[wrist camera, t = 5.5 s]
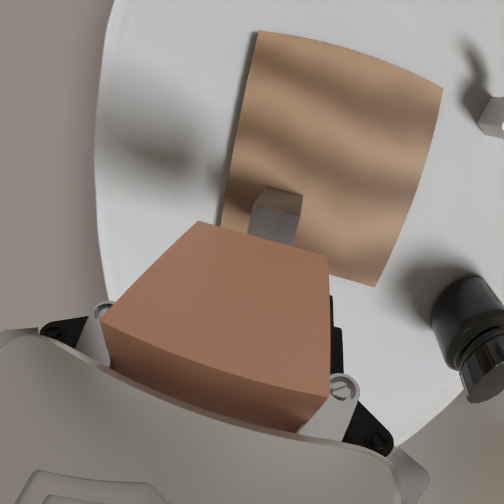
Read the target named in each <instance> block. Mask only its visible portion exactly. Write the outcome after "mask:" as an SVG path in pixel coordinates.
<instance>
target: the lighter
mask: <svg viewBox="0 0 504 504" xmlns="http://www.w3.org/2000/svg"><path fill="white" fill-rule="evenodd" d="M477 125H478V126H479V127H480V129H481V130H482V131H483V133H484V134H485V135H488V136H493V137H498V138H502V139H504V97H491V98H490V100H489V102H488V104H487V106H486V107H485V109H484V111H483V113H482V114H481V116H480V118H479V119H478V121H477Z"/></svg>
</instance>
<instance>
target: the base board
mask: <svg viewBox="0 0 504 504" xmlns="http://www.w3.org/2000/svg"><path fill="white" fill-rule="evenodd" d="M442 92H443V88H441V87H439V86H438V85H436V84H434V83H432V82H430V81H428V80H426V79H424V78H422V77H420V76H418V75H416V74H413V73H411V72H409V71H407V70H405V69H402V68H400V67H398V66H395V65H393V64H390V63H388V62H385V61H383V60H380V59H377V58H374V57H372V56H369V55H366V54H363V53H360V52H357V51H354V50H350V49H347V48H344V47H340V46H336V45H333V44H329V43H325V42H321V41H317V40H312V39H307V38H303V37H297V36H292V35H286V34H280V33H273V32H266V31H259V32H258V36H257V40H256V44H255V49H254V53H253V57H252V62H251V66H250V70H249V75H248V80H247V84H246V89H245V94H244V98H243V103H242V108H241V113H240V118H239V123H238V128H237V133H236V138H235V144H234V149H233V154H232V160H231V165H230V171H229V176H228V182H227V188H226V194H225V200H224V206H223V212H222V218H221V224H220V227H223V228H227V229H230V230H234V231H238V232H241V233H245V234H247V231H248V227H249V222H250V217H251V212H252V208H253V204H254V202H255V201H256V200H257V198H258V197H259V195H260V194H261V193H262V191H263V190H264V189H265V187H266V186H270V187H274V188H277V189H281V190H285V191H289V192H292V193H296V194H300V195H303V202H302V209H301V215H300V220H299V223H298V226H297V230H296V233H295V237H294V240H293V243H292V247H295V248H299V249H303V250H306V251H310V252H313V253H317V254H320V255H324V256H327V257H328V273H329V274H330V275H333V276H337V277H341V278H344V279H348V280H351V281H355V282H358V283H362V284H365V285H369V286H372V287H375V286H376V284H377V282H378V280H379V278H380V276H381V274H382V272H383V270H384V268H385V266H386V263H387V261H388V259H389V257H390V255H391V252H392V250H393V248H394V246H395V243H396V241H397V239H398V236H399V234H400V232H401V229H402V227H403V224H404V222H405V219H406V217H407V214H408V212H409V209H410V206H411V204H412V201H413V198H414V195H415V193H416V190H417V187H418V184H419V181H420V178H421V175H422V172H423V169H424V165H425V162H426V159H427V155H428V152H429V148H430V145H431V141H432V137H433V133H434V129H435V125H436V121H437V117H438V112H439V107H440V103H441V98H442Z"/></svg>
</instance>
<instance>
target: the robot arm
mask: <svg viewBox="0 0 504 504" xmlns="http://www.w3.org/2000/svg"><path fill="white" fill-rule="evenodd" d="M115 303H116V302H114V301H104V302H100V303H98V304H97V305H95V306H94V307H93V309H92V310H91V312H90V314H89V316H85V317H80V318H73V319H67V320H60V321H54V322H50V323H48V324H46V325H45V326H44V327H43V328H42V329H41V330H39V328H38V327H36V328H25V329H14V330H13V329H12V330H5V331H2V332H1V333H0V504H416V503H417V502H418V500H419V499H420V497H421V496H422V494H423V493H424V491H425V490H426V488H427V487H428V485H429V480H430V477H429V474H428V472H427V471H426V469H424V468H423V467H422V466H421V465H420V464H419V463H418V462H416V461H415V460H414V459H413V458H411V456H409V455H408V454H407V453H406V452H405V451H404V450H403V449H401V448H400V447H397V448H396V447H395V446H394V441H393V437H392V435H391V434H390V432H389V431H388V430H387V429H386V428H385V427H384V426H383V425H382V424H381V423H380V422H379V421H378V420H377V419H376V418H375V417H374V416H373V415H372V414H371V413H370V412H369V411H368V410H367V409H366V408H365V407H364V406H363V405H362V404H361V403H360V402H359V401H358V399H359V396H360V388H359V386H358V384H357V382H356V381H355V380H354V379H353V378H352V377H350V376H349V375H346V374H344V369H343V342H342V330H341V328H338V327H334V321H333V298H332V296H331V295H330V389H329V398H328V399H327V400H326V402H325V403H324V404H323V405H322V406H321V408H320V409H319V410H318V411H317V412H316V413H315V415H314V416H313V417H312V418H311V419H310V420H309V421H308V422H307V423H304V422H303V423H302V424H301V425H300V426H299V427H298V428H297V430H296V431H295V433H291V432H286V431H281V430H276V429H272V428H267V427H263V426H259V425H255V424H251V423H248V422H244V421H240V420H237V419H233V418H230V417H227V416H223V415H220V414H217V413H214V412H211V411H208V410H205V409H202V408H199V407H196V406H194V405H191V404H188V403H186V402H183V401H180V400H178V399H175V398H173V397H170V396H168V395H165V394H163V393H161V392H158V391H156V390H154V389H151V388H149V387H147V386H145V385H142V384H140V383H138V382H136V381H134V380H132V379H130V378H128V377H126V376H124V375H122V374H120V373H118V372H116V371H114V369H115V365H114V362H113V359H112V357H111V356H110V355H109V354H108V350H107V347H106V344H105V340H104V336H103V333H102V329H101V325H100V321H99V320H100V319H101V318H102V317H103V315H104V314H105V313H106V312H107V311H108V310H109V309H110V308H111V307H112V306H113V305H114V304H115Z"/></svg>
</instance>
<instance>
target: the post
mask: <svg viewBox="0 0 504 504" xmlns="http://www.w3.org/2000/svg"><path fill="white" fill-rule="evenodd" d="M302 202H303V195H300V194H296V193H292V192H289V191H285V190H281V189H277V188H274V187H270V186H266V187H265V189H264V190H263V191H262V193H261V194H260V195H259V197H258V198H257V200H256V201H255V202H254V204H253V208H252V212H251V217H250V222H249V227H248V231H247V234H249V235H252V236H256V237H260V238H263V239H267V240H271V241H274V242H278V243H281V244H285V245H288V246H292V243H293V240H294V237H295V233H296V230H297V226H298V223H299V220H300V215H301V209H302Z"/></svg>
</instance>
